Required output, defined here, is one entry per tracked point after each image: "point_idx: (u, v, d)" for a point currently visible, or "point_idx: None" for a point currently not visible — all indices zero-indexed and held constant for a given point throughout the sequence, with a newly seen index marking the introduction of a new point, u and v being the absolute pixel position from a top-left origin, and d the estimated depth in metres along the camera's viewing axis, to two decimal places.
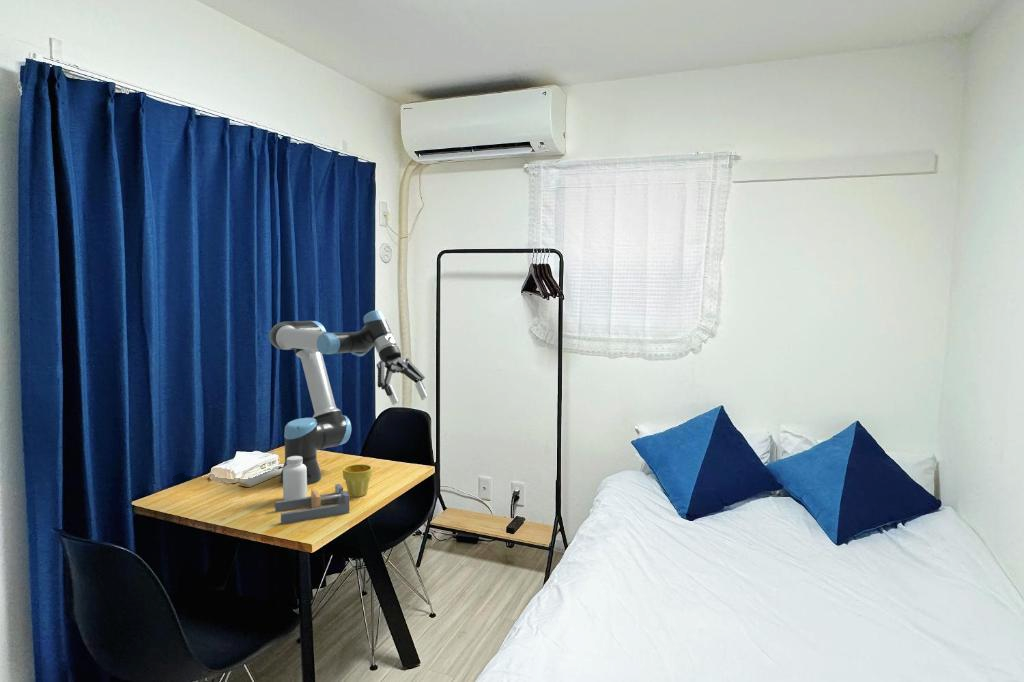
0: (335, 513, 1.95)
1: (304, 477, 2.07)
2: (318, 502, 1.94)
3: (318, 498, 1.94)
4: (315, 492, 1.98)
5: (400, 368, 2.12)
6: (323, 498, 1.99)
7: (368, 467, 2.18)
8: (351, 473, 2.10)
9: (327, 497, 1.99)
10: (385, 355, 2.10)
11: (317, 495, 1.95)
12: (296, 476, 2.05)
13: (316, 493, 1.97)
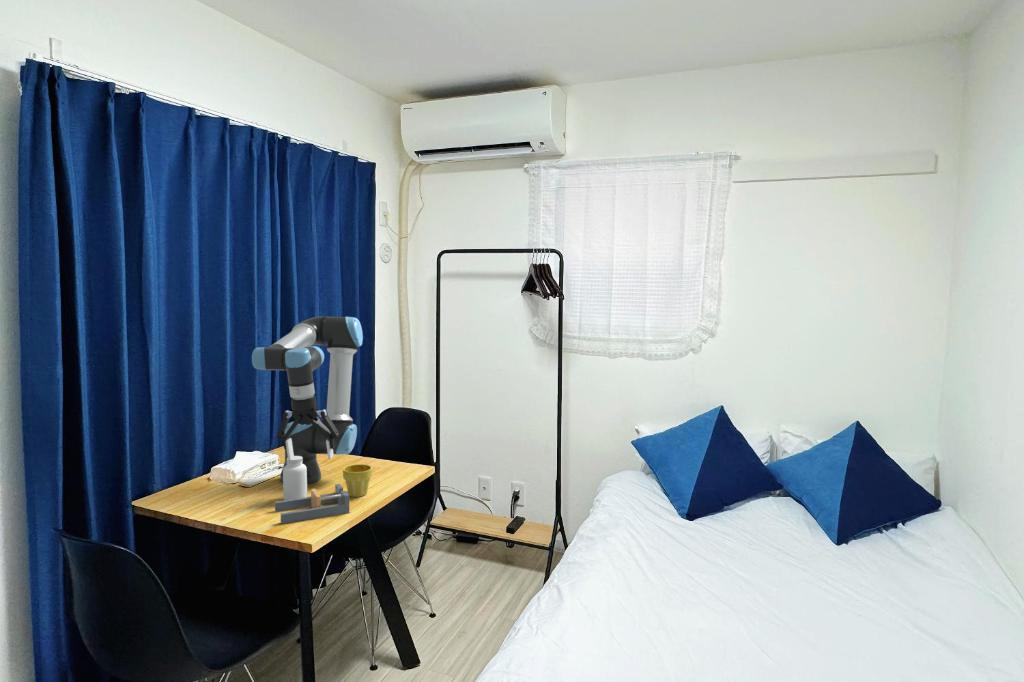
0: (335, 513, 1.95)
1: (304, 477, 2.07)
2: (318, 502, 1.94)
3: (318, 498, 1.94)
4: (315, 492, 1.98)
5: (307, 423, 1.90)
6: (323, 498, 1.99)
7: (368, 467, 2.18)
8: (351, 473, 2.10)
9: (327, 497, 1.99)
10: None
11: (317, 495, 1.95)
12: (296, 476, 2.05)
13: (316, 493, 1.97)
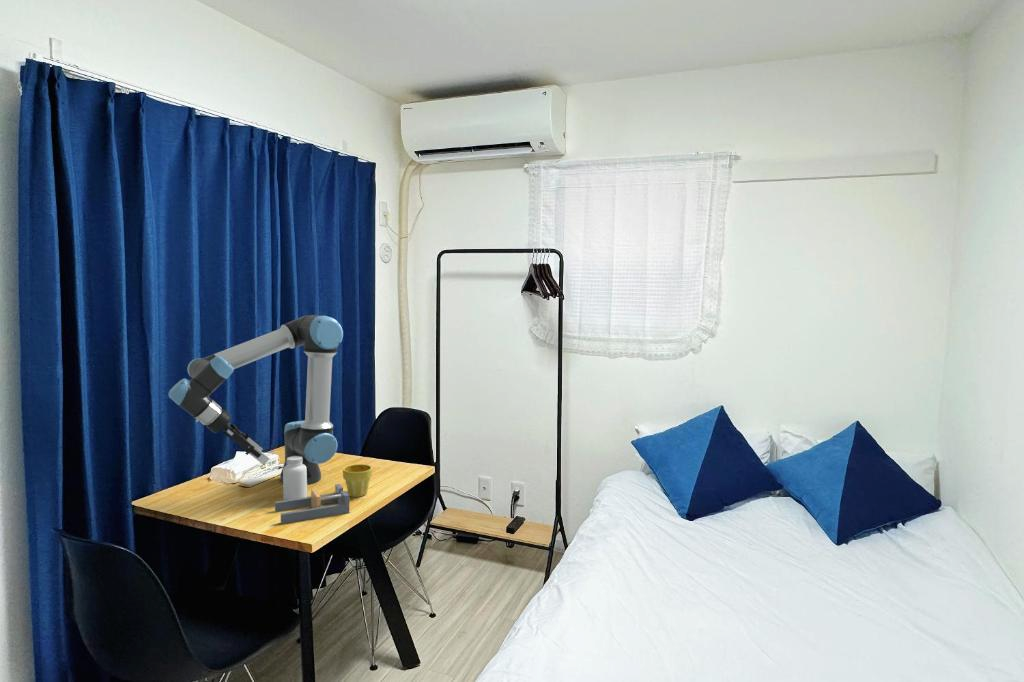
0: (335, 513, 1.95)
1: (304, 477, 2.07)
2: (318, 502, 1.94)
3: (318, 498, 1.94)
4: (315, 492, 1.98)
5: None
6: (323, 498, 1.99)
7: (368, 467, 2.18)
8: (351, 473, 2.10)
9: (327, 497, 1.99)
10: None
11: (317, 495, 1.95)
12: (296, 476, 2.05)
13: (316, 493, 1.97)
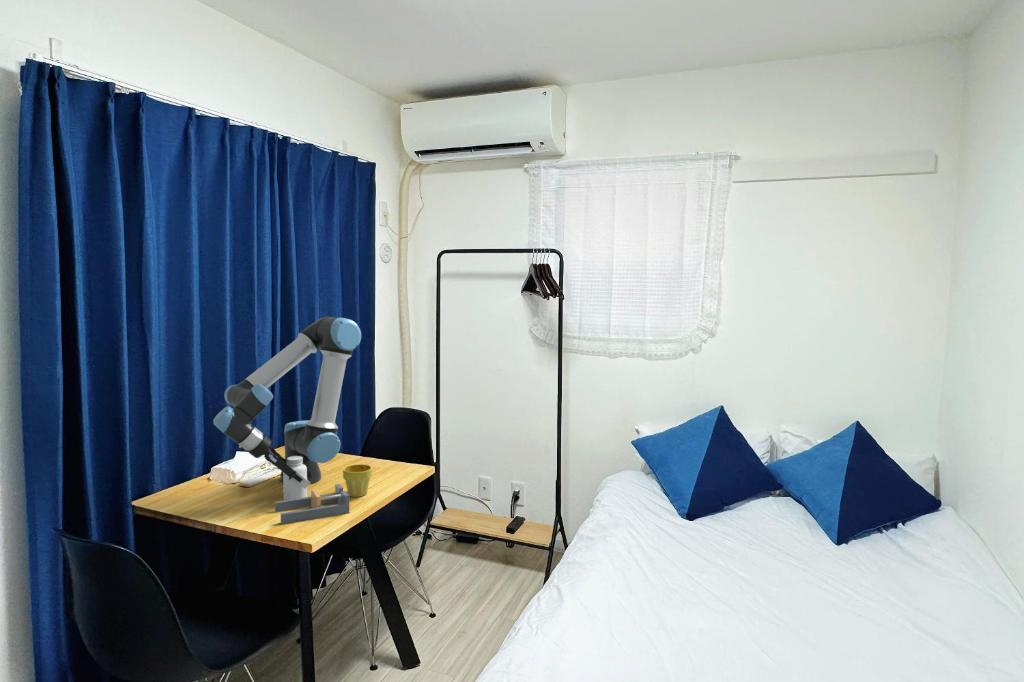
0: (335, 513, 1.95)
1: (304, 477, 2.07)
2: (318, 502, 1.94)
3: (318, 498, 1.94)
4: (315, 492, 1.98)
5: None
6: (323, 498, 1.99)
7: (368, 467, 2.18)
8: (351, 473, 2.10)
9: (327, 497, 1.99)
10: None
11: (317, 495, 1.95)
12: None
13: (316, 493, 1.97)
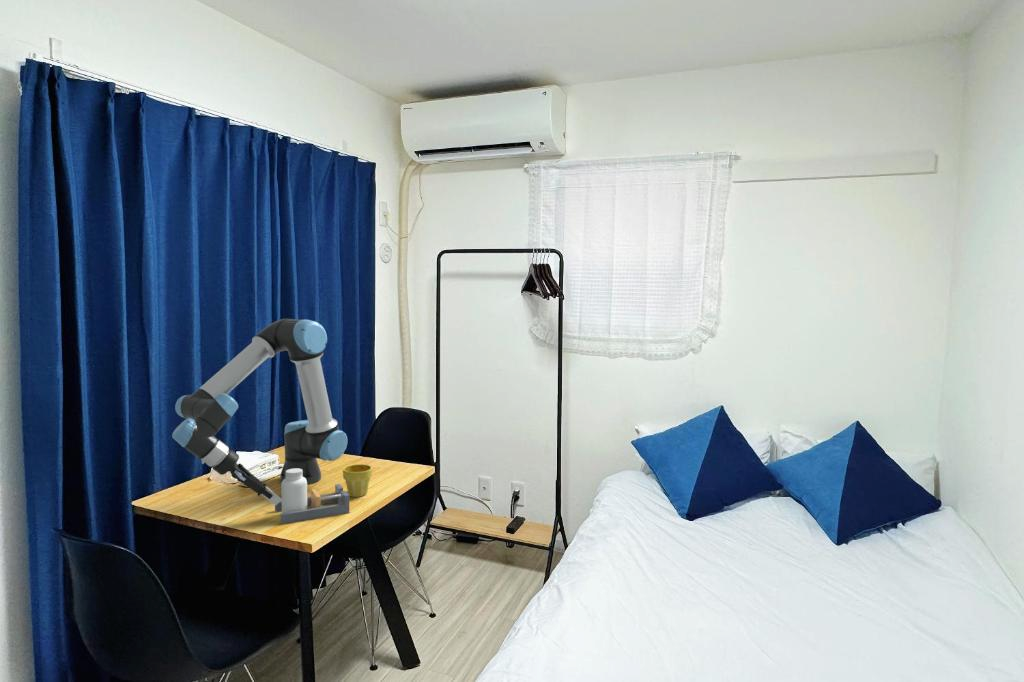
0: (335, 513, 1.95)
1: (304, 491, 1.93)
2: (318, 502, 1.94)
3: (318, 498, 1.94)
4: (315, 492, 1.98)
5: None
6: (323, 498, 1.99)
7: (368, 467, 2.18)
8: (351, 473, 2.10)
9: (327, 497, 1.99)
10: None
11: (317, 495, 1.95)
12: (296, 490, 1.90)
13: (316, 493, 1.97)
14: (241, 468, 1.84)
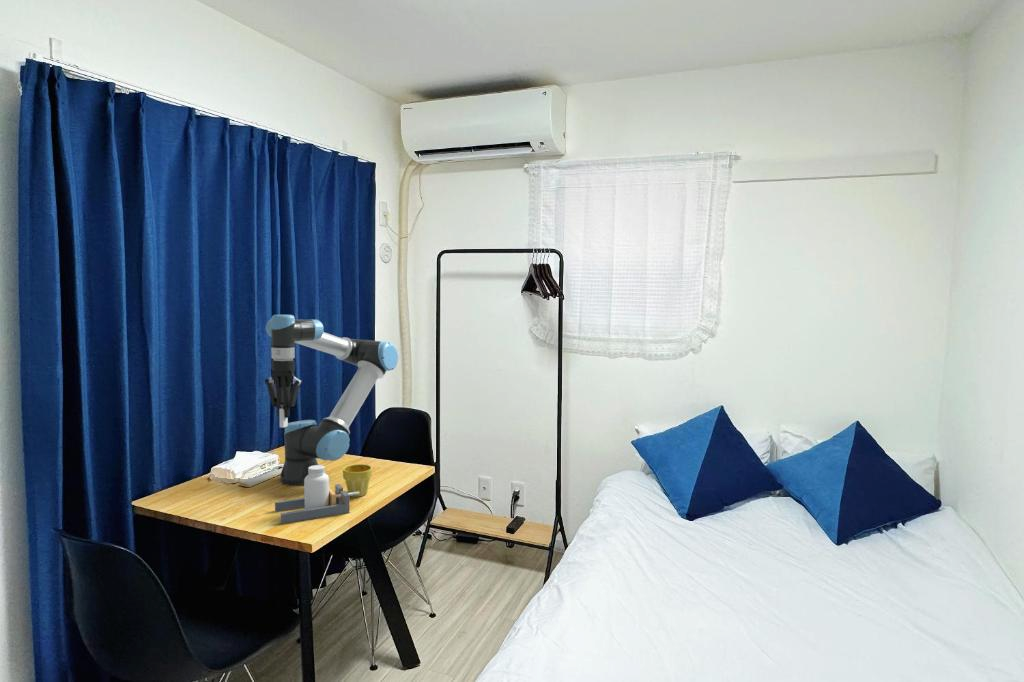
0: (335, 513, 1.95)
1: (326, 487, 1.97)
2: (333, 500, 1.97)
3: (333, 496, 1.96)
4: (330, 490, 2.00)
5: None
6: (338, 496, 2.01)
7: (368, 467, 2.18)
8: (351, 473, 2.10)
9: None
10: None
11: (332, 493, 1.98)
12: (318, 486, 1.94)
13: (331, 491, 2.00)
14: None
